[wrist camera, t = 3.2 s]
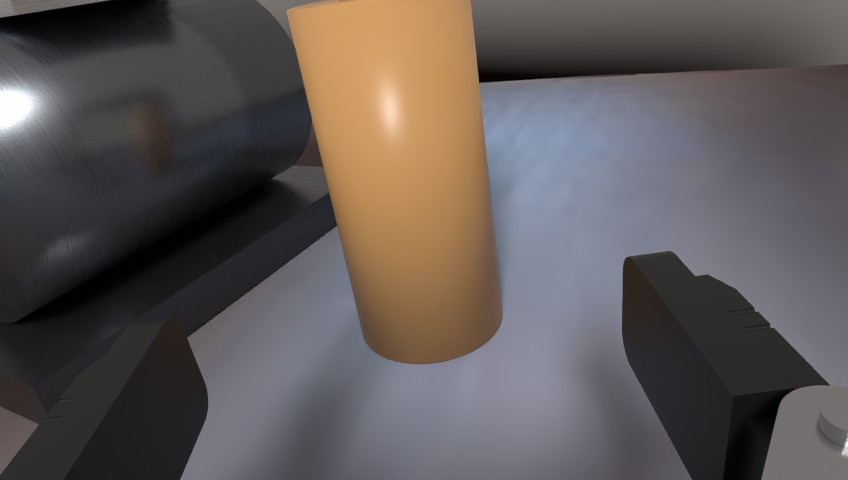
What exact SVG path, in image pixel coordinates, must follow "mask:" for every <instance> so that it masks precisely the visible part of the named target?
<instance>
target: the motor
mask: <svg viewBox="0 0 848 480" xmlns="http://www.w3.org/2000/svg"><path fill="white" fill-rule="evenodd" d="M311 124H312V117H311V112H310V108H309V104H308V100H307V95H306V91H305V87H304V83H303V79H302V74H301V70H300V66H299V62H298V57H297V53H296V49H295V47H294V45H293V43H292V42H291V40H290V38H289V37H288V35H287V33H286V32H285V30H284V29H283V28H282V27H281V25H280V24H279V23H278V21H277V20H276V19H275V18H274V17H273V16H272V15H271V13H270V12H269V11H268V10H267V9H266V8H264V7H263V6H262V5H261V4H260V3H258V2H257V1H256V0H0V406H1V407H4V408H6V409H8V410H10V411H12V412H14V413H17V414H19V415H21V416H23V417H25V418H27V419H30V420H32V421H34V422H36V423H38V424H40V423H44V422H45V419H44V418H45V417H46V415H47V414H48V413H49V411H50V410H51V409H52V408H53V406H54V405H55V404H58V403H59V398H60V397H61V396H62V395H63V393H64V392H65V391H66V389H67V388H68V387H69V386H70V384H71V383H72V382H73V380H74V379H75V378H76V377H77V376H78V375H79V374H80V373H82V372H83V371H84V370H85V369H87V368H88V367H89V366H90V365H92V364H93V363H94V362H96V361H97V360H98V359H99V358H101V357H102V356H106V354H107V353H108V351H109V350H110V349H111V347H112V346H113V345H114V343H115V342H116V341H117V339H118V338H119V337H120V335H121V334H122V333H123V331H124V330H125V329H126V328H127V327H128V326H129V325H131V324H137V323H144V322H151V321H159V320H166V319H175V320H177V321H178V322H179V323H180V324H181V326H182V328H183V330H184V332H185V335H186V337H187V336H189V335H190V334H191V333H193V332H194V331H195V330H197V329H198V328H199V327H201V326H202V325H203V324H205V323H206V322H207V321H209V320H210V319H211V318H213V317H214V316H215V315H217V314H218V313H219V312H221V311H222V310H223V309H225V308H226V307H228V306H229V305H230V304H232V303H233V302H234V301H236V300H237V299H238V298H240V297H241V296H242V295H244V294H245V293H246V292H248V291H249V290H250V289H252V288H253V287H254V286H256V285H257V284H258V283H260V282H261V281H262V280H264V279H265V278H266V277H268V276H269V275H270V274H272V273H273V272H274V271H276V270H277V269H278V268H280V267H281V266H283V265H284V264H285V263H287V262H288V261H289V260H291V259H292V258H293V257H295V256H296V255H297V254H299V253H300V252H301V251H303V250H304V249H305V248H307V247H308V246H309V245H311V244H312V243H313V242H315V241H316V240H317V239H319V238H320V237H321V236H323V235H324V234H325V233H327V232H328V231H329V230H331V229H332V228H334V227H335V226H336V225H337V223H336V218H335V214H334V210H333V206H332V201H331V197H330V193H329V189H328V184H327V180H326V176H325V172H324V168H323V167H315V166H296V165H294V164H295V163H296V162H297V161H298V159H299V158H300V156H301V155H302V154H303V151H304V149H305V147H306V145H307V142H308V139H309V136H310V130H311Z"/></svg>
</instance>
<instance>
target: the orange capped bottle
mask: <svg viewBox="0 0 848 480" xmlns="http://www.w3.org/2000/svg"><path fill="white" fill-rule="evenodd" d="M287 15H288V19H289V23H290V27H291V32H292V36H293V40H294V45H295V49H296V53H297V57H298V62H299V66H300V70H301V74H302V79H303V83H304V87H305V91H306V95H307V100H308V104H309V108H310V112H311V117H312V121H313V125H314V129H315V134H316V138H317V142H318V146H319V151H320V155H321V159H322V163H323V168H324V172H325V176H326V180H327V184H328V189H329V193H330V197H331V201H332V206H333V210H334V214H335V218H336V223H337V227H338V231H339V235H340V240H341V244H342V248H343V252H344V257H345V261H346V265H347V269H348V274H349V278H350V282H351V286H352V290H353V295H354V299H355V303H356V307H357V312H358V316H359V320H360V324H361V329H362V333H363V337H364V340H365V342H366V344H367V345H368V346H369V347H370V348H371V349H372V350H373V351H374V352H375V353H377V354H379V355H380V356H382V357H385V358H387V359H390V360H393V361H397V362H402V363H411V364H428V363H437V362H442V361H447V360H451V359H455V358H458V357H460V356H463V355H466V354H468V353H470V352H472V351H474V350H476V349H477V348H479V347H481V346H482V345H483V344H485V343H486V342H487V341H488V340H489V339H490V338H492V337H493V335H494V334H495V333H496V332H497V330H498V328H499V326H500V324H501V321H502V314H503V313H502V303H501V294H500V284H499V274H498V264H497V254H496V245H495V235H494V225H493V215H492V206H491V196H490V186H489V176H488V166H487V157H486V147H485V137H484V127H483V117H482V108H481V98H480V88H479V79H478V69H477V59H476V49H475V41H474V40H475V39H474V29H473V20H472V11H471V0H323V1H318V2H314V3H309V4H305V5H301V6H297V7H294V8H291V9H288V10H287Z"/></svg>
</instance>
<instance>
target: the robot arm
mask: <svg viewBox="0 0 848 480" xmlns="http://www.w3.org/2000/svg"><path fill="white" fill-rule="evenodd" d="M622 335H623V343H624V348H625V352H626V355H627V358H628V361H629V364H630V366H631V368H632V369H633V371H634V373H635V375H636V377H637V379H638V380H639V382H640V384H641V386H642V388H643V390H644V392H645V393H646V395H647V397H648V399H649V401H650V403H651V404H652V406H653V408H654V410H655V412H656V414H657V415H658V417H659V419H660V421H661V423H662V425H663V427H664V428H665V430H666V432H667V434H668V436H669V438H670V439H671V441H672V443H673V445H674V447H675V449H676V450H677V452H678V454H679V456H680V458H681V460H682V462H683V463H684V465H685V467H686V469H687V471H688V473H689V474H690V476H691V478H692V480H848V388H843V387H837V386H830V385H829V384H828V383H827V382H826V381H825V380H824V379H823V378H822V377H821V376H820V375H819V374H818V373H817V372H816V370H815V369H814V368H813V367H812V366H811V365H810V364H809V363H808V362H807V361H806V360H805V359H804V358H803V357H802V356H801V355H800V354H799V353H798V352H797V351H796V350H795V349H794V348H793V347H792V346H791V345H790V344H789V343H788V342H787V341H786V340H785V339H784V338H783V337H782V336H781V335H780V334H779V333H778V332H777V331H776V330H775V329H774V328H771V327H770V323H769V322H768V321H767V320H766V319H765V318H764V317H763V316H762V315H761V314H760V313H759V312H755V310H754V307H753V306H752V305H751V304H750V303H749V302H748V301H747V300H746V299H745V298H744V297H743V296H742V295H741V294H740V293H739V292H738V291H737V290H736V289H735V288H733V287H731V286H729V285H727V284H725V283H723V282H721V281H719V280H717V279H715V278H713V277H711V276H709V275H702V276H694V275H693V274H692V272H691V271H690V270H689V269H688V268H687V267H686V266H685V265H684V263H683V262H682V261H681V260H680V259H679V258H678V257H677V256H676V254H674V253H673V252H671V251H667V252H659V253H652V254H645V255H638V256H630V257H627V258H626V259H625V261H624V265H623V302H622ZM207 411H208V394H207V388H206V385H205V382H204V379H203V377H202V374H201V372H200V369H199V367H198V364H197V362H196V359H195V357H194V355H193V352H192V350H191V347H190V345H189V342H188V340H187V337H186V335H185V332H184V330H183V328H182V326H181V324H180V323H179V322H178V321H177V320H175V319H166V320H159V321H151V322H144V323H137V324H131V325H129V326H128V327H127V328H126V329H125V330H124V331H123V333H122V334H121V335H120V337H119V338H118V339H117V341H116V342H115V343H114V345H113V346H112V347H111V349H110V350H109V351H108V353H107V354H106V356H102V357H101V358H99V359H98V360H97V361H96V362H94V363H93V364H92V365H90V366H89V367H88V368H87V369H85V370H84V371H83V372H82V373H80V374H79V375H78V376H77V377H76V378H75V379H74V380H73V382H72V383H71V384H70V386H69V387H68V388H67V389H66V391H65V392H64V393H63V395H62V396H61V397H60V398H59V403H58V404H55V405H54V406H53V408H52V409H51V410H50V411H49V413H48V414H47V415H46V417H45V418H44V419H45V422H44V423H40V424H39V426H38V427H37V428H36V430H35V431H34V432H33V433H32V435H31V436H30V437H29V439H28V440H27V441H26V443H25V444H24V445H23V446H22V448H21V449H20V450H19V452H18V453H17V454H16V455H15V457H14V458H13V459H12V461H11V462H10V463H9V465H8V466H7V467H6V468H5V470H4V471H3V472H2V474H1V475H0V480H180V478H181V476H182V474H183V471H184V469H185V467H186V464H187V462H188V460H189V457H190V455H191V453H192V450H193V448H194V446H195V443H196V441H197V438H198V436H199V434H200V431H201V429H202V427H203V424H204V422H205V419H206V416H207Z"/></svg>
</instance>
